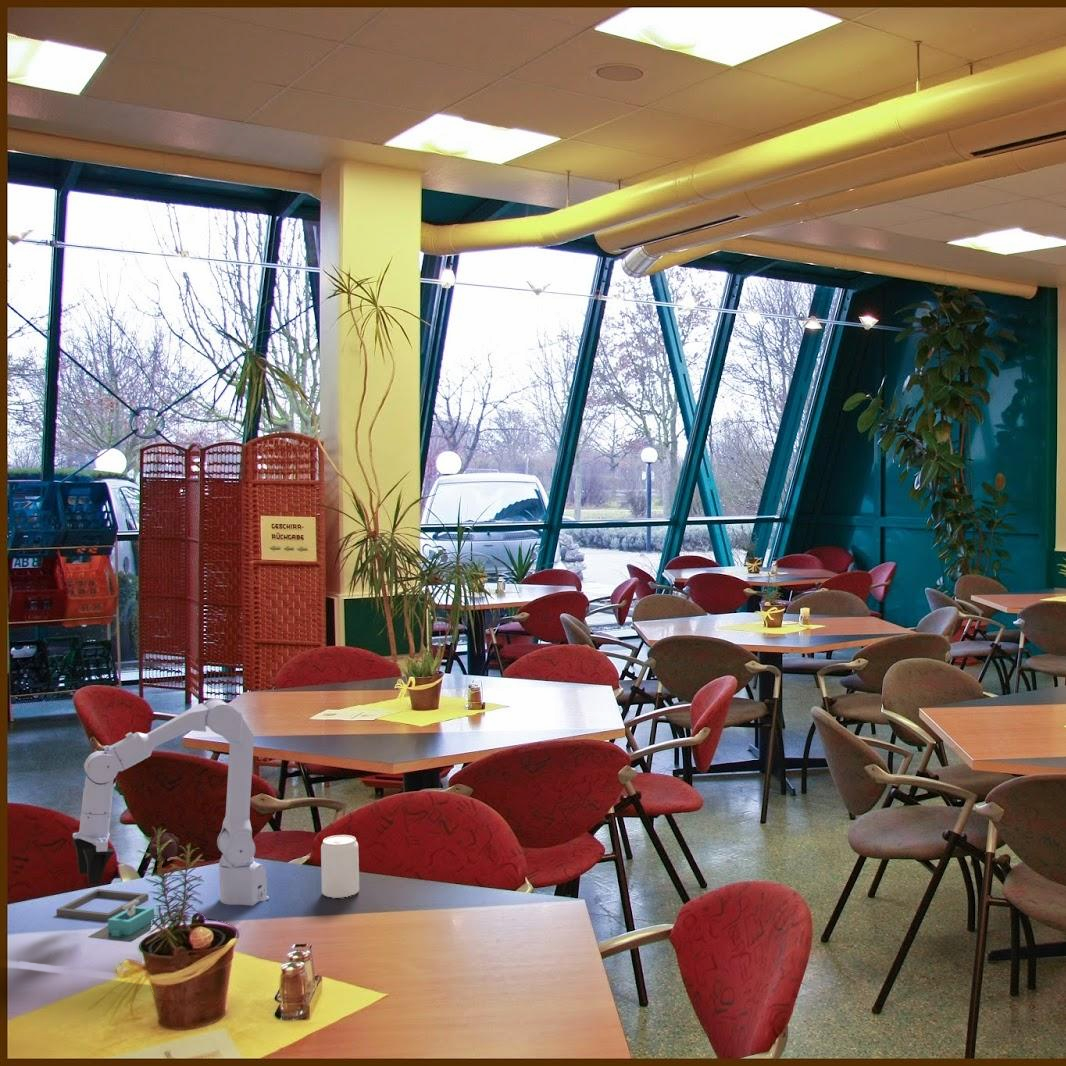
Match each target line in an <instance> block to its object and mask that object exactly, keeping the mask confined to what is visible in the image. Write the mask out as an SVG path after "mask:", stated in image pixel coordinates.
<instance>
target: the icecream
mask: <svg viewBox="0 0 1066 1066" xmlns="http://www.w3.org/2000/svg"><path fill="white" fill-rule="evenodd" d="M163 833H164V835H163V837H162V839H161V844H164V843H165V842H167V841H168V840H169V839H173V840H174V843H171V844H170V845H168V846H167V847H166V848H165V849H164V851H163V855H162V859H163V863H164V864H165V862H166V861H168V860H167V859H168V858H170V857H172V858H173V857H175V856H176V855H178V852H179V850H180V849H179V847H180V842H179V841H180V839H179V837H177V836H175V834H173V833H170V832H163ZM156 840H157V834H156V835H153V837H152V838H151V840H150V843H149V846H148V848H149V856H150V857H151V858H152V859H153V860H155V861H157V846H156ZM165 860H166V861H165Z"/></svg>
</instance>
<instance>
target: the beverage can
mask: <svg viewBox="0 0 1066 1066" xmlns="http://www.w3.org/2000/svg"><path fill="white" fill-rule="evenodd" d="M359 855H360V854H359V843H358V841H357V838H356V837H355V836H353V835H349V834H336V835H331V836H327V837H325V838H324V839H323V840H322V844H321V845H320V860H321V862H320V863H321V864H320V867H321V869H320V870H321V871H320V872H321V873H320V874H321V894H322V895H323V896H325V897H328V898H329V897H333V898H332V899H335V898H341V897H347V898H349V897H348V896H350V897H352V896H351V895H353V896H354V895H356V894H357V893H358V892H359V891H360V865H359V864H360V862H359V861H360V860H359ZM341 899H342V898H341Z"/></svg>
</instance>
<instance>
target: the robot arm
mask: <svg viewBox="0 0 1066 1066" xmlns="http://www.w3.org/2000/svg"><path fill="white" fill-rule="evenodd" d="M207 727H208V728H209V730H210V731H211V732H213V733H214V734H216V735H218V736H222V738H224V740H225V741H227V742H228V744H229V748H228V749H229V750H228V751H229V752H228V766H227V767H228V769H227V785H226V800H225V801H226V803H225V804H226V805H225V815H224V816H225V817H224V818H223V822H222V825H221V826H222V827H221V831H220V832H219V833H218V834H219V835H218V836H217V840H216V845H217V847H218V848H217V849H218V850H219V852H221V858H220V859H219V862H218V865H219V866H218V867H219V868H218V869H219V899H220V900H219V901H220V903H222V904H224V905H235V906H237V905H243V906H255V905H256V904H257V903H259V902H266V901H267V900H269V898H270V897H269V896H268V884H267V882H268V881H267V876H268V875H267V868H266V867H265V865H264V864H262V863H259V862H256V861H255V857H254V856H255V854H256V845H255V842H254V840H253V835H252V833H253V828H252V825H251V824H252V823H251V820H250V814H251V813H250V812H251V810H250V809H251V796H252V795H251V794H252V793H251V792H252V778H253V777H252V776H253V775H252V774H253V760H254V757H253V756H254V742H255V741H254V739H255V738H254V734H253V732H252V730H251V729H250V727H249V726H248V723H247V722H246V720H245V719H244V717H243V715H242V713H241V712H240V711H238V710H237V709H235V708H234V707H233V706H231V705H230V704H228V703H227V702H226V701H225V700H223V699H221V698H217V697H215V698H214V697H213V698H210V699H207V700H206V701H205V702H203V703H202V702H201V703H198V704H195V705H194V706H192V707H191V708H189V709H187V710H184V711H183V712H182V713H181V714H178V715H176V716H175V717H173V718H172V719H170V720H168V721H167V722H165V723H163V724H161V725H160V726H158V727H156V728H154V729H153V730H151V731H149V732H147V733H143V732H139V731H136V732H135V733H132V732H130V731H129V732H128V733H127V734H126V733H125V735H124V736H125V738H123V739H122V740H119V741H117V742H115V743H114V744H112V745H110V746H109V745H108V744H107V745H105V746H103V749H104V750H97V751H96V750H95V751H93V752H92V753H90V754H89V755H88V756H87V757H86V759H85V762H84V763H83V769H84V772H85V773H86V775H85V780H84V787H83V793H82V800H81V802H82V803H81V808H80V809H81V811H80V821H79V829H78V832H73V833H72V843H73V845H74V849H75V853H76V857H77V858H76V859H77V866H78V873H79V874H80V875H82V874H85V875H86V874H87V883H88V884H89V885H97V884H98V885H100V883H101V880H102V879H103V876H104V872H105V869H106V867H107V864H108V862H110V861H109V860H110V859H111V857H112V856H113V854H114V851H115V850H114V849H112V848H108V847H109V838H110V836H111V835H110V834H111V833H110V825H111V813H112V807H113V806H112V805H113V797H114V795H113V793H114V789H113V788H114V779H116V777H117V776H118V774H119V772H123V771H125V770H127V769H129V768H131V767H133V766H135V765H137V764H138V763H141V762H142V761H145V759H148V758H149V757H151V756H152V753H153V751H154V749H155V748H156V747H158V746H160V745H162V744H164V743H166V742H169V741H171V740H173V739H174V738H177V737H179V736H181V735H183V734H185V733H187V732H189V731H192V732H193V731H194V732H196V731H197V732H207Z"/></svg>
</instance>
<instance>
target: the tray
mask: <svg viewBox="0 0 1066 1066" xmlns="http://www.w3.org/2000/svg"><path fill="white" fill-rule="evenodd" d="M98 897H99V898H109V899H110V898H111V899H118V900H128V902H125V903H124V904H122V905H121V906H119V907H117V908H115V909H112V910H111V911H109V912H102V911H94V910H92V911H91V910H83V909H78V908H79V907H81V906H83V905H85V904H87V903H89V902H91V901H92V900H95V899H97V898H98ZM129 900H130V901H129ZM133 900H139V903H138V904H136V905H135V906H141V904H144V903H146V902H147V901H149V893H141V892H134V891H133V892H131V891H122V890H121V891H120V890H113V889H112V890H110V889H102V888H97V889H95V890H93V891H91V892H89V893H86V894H85V895H83V896H81V897H78V898H76V899H75V900H72V901H70V902H69V903H67V904H65V905H63V906H60V907H59V908H57V909H56V911H55V912H56V916H58V917H68V918H78V919H86V920H94V921H96V920H97V921H105V922H108V919H110V918H112V917H114V916H116V915H117V914H119V913H121V912H123V911H125V910H126V909H123V906H124V905H126V904H128V903H129V902H131V901H133Z"/></svg>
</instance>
